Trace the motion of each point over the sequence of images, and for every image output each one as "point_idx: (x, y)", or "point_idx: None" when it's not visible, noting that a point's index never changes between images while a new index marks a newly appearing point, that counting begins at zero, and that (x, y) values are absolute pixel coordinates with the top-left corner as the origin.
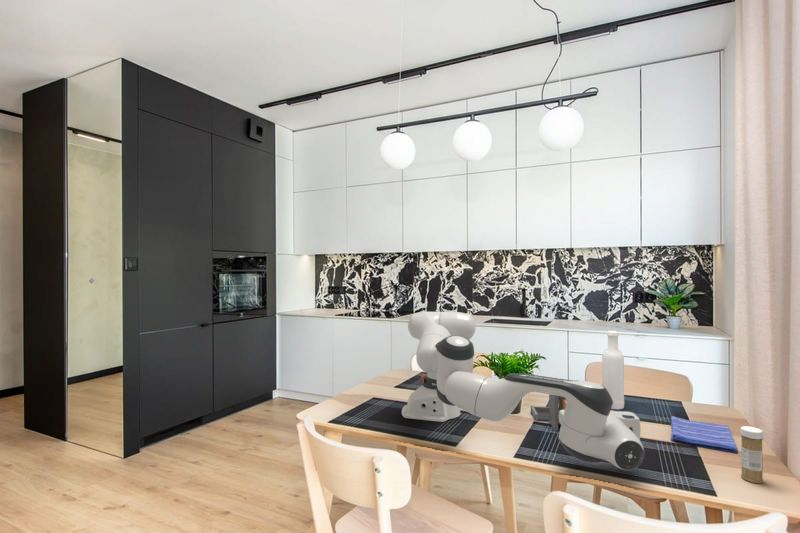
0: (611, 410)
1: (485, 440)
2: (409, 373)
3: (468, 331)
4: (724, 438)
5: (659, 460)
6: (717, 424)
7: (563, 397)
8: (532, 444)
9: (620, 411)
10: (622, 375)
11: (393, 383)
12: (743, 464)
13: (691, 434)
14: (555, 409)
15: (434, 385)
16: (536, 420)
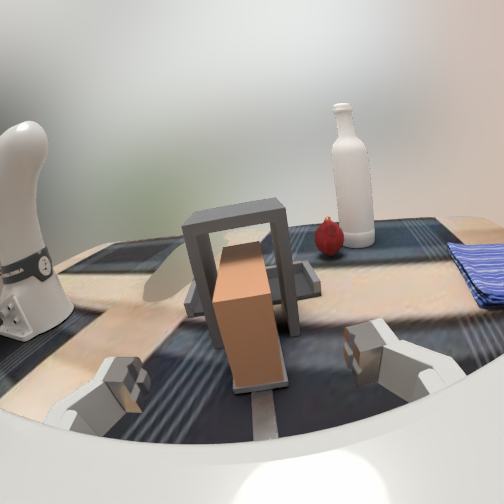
0: (405, 343)
1: (32, 402)
2: (98, 248)
3: (13, 152)
4: None
5: None
6: (499, 244)
7: (227, 254)
8: (113, 427)
9: (495, 365)
10: (369, 182)
11: (63, 268)
12: None
13: (492, 276)
14: (202, 296)
15: (3, 277)
16: (190, 316)
